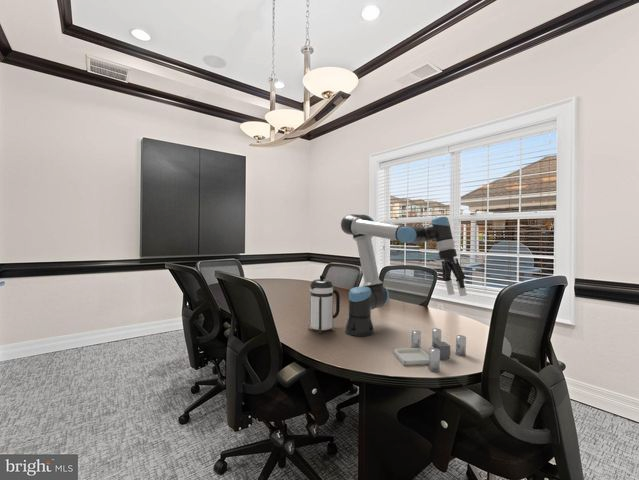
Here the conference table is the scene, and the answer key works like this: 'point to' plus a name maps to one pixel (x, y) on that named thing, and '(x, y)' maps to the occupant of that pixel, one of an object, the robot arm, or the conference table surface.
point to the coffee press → (322, 304)
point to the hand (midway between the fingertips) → (457, 295)
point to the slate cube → (443, 350)
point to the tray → (411, 356)
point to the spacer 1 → (416, 339)
